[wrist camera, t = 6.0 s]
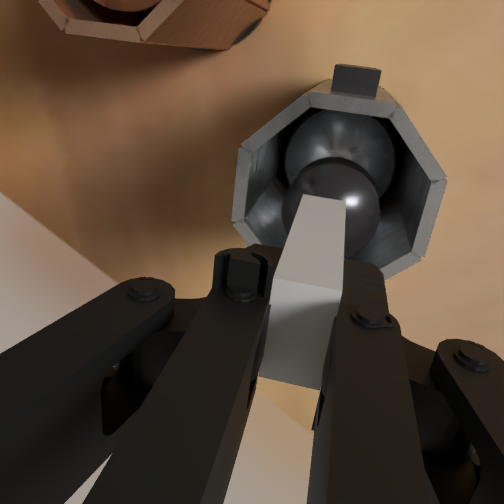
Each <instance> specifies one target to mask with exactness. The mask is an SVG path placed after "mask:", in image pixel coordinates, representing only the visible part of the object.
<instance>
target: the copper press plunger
mask: <svg viewBox="0 0 504 504" xmlns="http://www.w3.org/2000/svg"><path fill="white" fill-rule="evenodd" d="M94 1H95V2H97V3H99V4H101V5H102V6H105V7H107V8H110V9H114V10H119V11H124V12H143V11H147V10H151V9H153V8H155V7H156V6H157V5H158V4H159V3H160V2H161V1H162V0H94Z"/></svg>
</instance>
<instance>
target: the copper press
mask: <svg viewBox="0 0 504 504" xmlns="http://www.w3.org/2000/svg"><path fill="white" fill-rule="evenodd" d="M37 1H38V2H39V3H40V5H41V6H42V7H43V8H44V10H45V11H46V12H47V13H48V15H49V16H50V17H51V18H52V20H53V21H54V22H55V23H56V25H57V26H58V27H59V29H60V30H61V31H65V33H66V34H74V35H82V36H90V37H97V38H105V39H113V40H121V41H129V42H136V43H146V44H158V45H170V46H182V47H189V48H192V49H197V50H207V51H213V50H227V49H230V48H231V47H232V46H233V45H235V44H237V43H239V42H240V41H242V40H244V39H245V38H246V37H247V36H249V35H250V34H251V33H252V32H253V31H254V30H255V29H256V27H257V26H258V25H259V23H260V22H261V21H262V19H263V18H264V17H265V16H266V15H267V14H268V13H267V11H269V9H270V3H271V0H162V1H161V2H160V3H159V4H158V5H157V6H156V7H155V8H153V9H151V10H147V11H143V12H124V11H119V10H114V9H110V8H107V7H105V6H102V5H101V4H99V3H97V2H95V1H94V0H37Z"/></svg>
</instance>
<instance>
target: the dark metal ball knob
mask: <svg viewBox="0 0 504 504" xmlns="http://www.w3.org/2000/svg"><path fill="white" fill-rule="evenodd" d="M285 166H286V174H287V178H288V181H289V184H290V187H289V189H288V191H287V193H286V195H285V197H284V200H283V204H282V211H281V214H282V222H283V226H284V229H285V231H286V233H287V235H289V232H290V230H291V227H292V224H293V221H294V218H295V216H296V213H297V210H298V207H299V205H300V202H301V199H302V196H303V194H305V195H311V196H317V197H323V198H329V199H335V200H341V201H346V217H345V241H344V258H345V257H348V256H351V255H353V254H355V253H357V252H358V251H360V250H361V249H363V248H364V247H365V246H366V245H367V244H368V243H369V242H370V240H371V239H372V238H373V236H374V234H375V232H376V230H377V227H378V224H379V219H380V207H379V200H378V199H379V198H380V197H381V196H382V194H383V193H384V192H385V190H386V189H387V187H388V185H389V183H390V181H391V179H392V176H393V172H394V167H395V154H394V148H393V144H392V142H391V139H390V137H389V135H388V133H387V131H386V130H385V128H384V127H383V126H382V125H381V124H380V123H379V122H378V121H377V120H376V119H375V118H374V117H372V116H370V115H363V114H356V113H349V112H342V111H335V110H328V109H326V110H323V111H321V112H319V113H316V114H314V115H313V116H311V117H310V118H308V119H307V120H306V121H305V122H304V123H303V124H302V125H301V126H300V127H299V128H298V129H297V131H296V132H295V134H294V135H293V137H292V139H291V141H290V143H289V146H288V148H287V153H286V160H285Z"/></svg>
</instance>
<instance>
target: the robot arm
mask: <svg viewBox="0 0 504 504" xmlns="http://www.w3.org/2000/svg"><path fill="white" fill-rule="evenodd" d="M345 217H346V201H341V200H335V199H329V198H323V197H317V196H311V195H305V194H303V196H302V199H301V202H300V205H299V207H298V210H297V213H296V216H295V218H294V221H293V224H292V227H291V230H290V232H289V235H288V238H287V241H286V244H285V246H284V249H283V248H277V247H272V246H267V245H261V244H256V243H255V244H253V245H251V246H249V247H247V248H245V249H244V248H232V249H226V250H223V251H220V252H218V253H217V254H216V255H215V259H214V271H213V283H212V289H211V291H210V292H209V294H208V296H207V297H204V298H199V299H175V289H174V288H173V287H172V286H171V284H169V283H167V282H165V281H163V280H159V279H155V278H151V277H148V278H146V277H139V278H135V279H129V280H127V281H124V282H122V283H120V284H118V285H116V286H115V287H113V288H111V289H110V290H108V291H106V292H104V293H103V294H101V295H99V296H98V297H96V298H94V299H92V300H91V301H89V302H87V303H86V304H84V305H82V306H81V307H79V308H77V309H75V310H74V311H72V312H70V313H69V314H67V315H65V316H64V317H62V318H60V319H58V320H57V321H55V322H53V323H52V324H50V325H48V326H47V327H45V328H43V329H42V330H40V331H38V332H37V333H35V334H33V335H31V336H30V337H28V338H26V339H25V340H23V341H21V342H19V343H18V344H16V345H14V346H13V347H11V348H9V349H8V350H6V351H4V352H2V353H1V354H0V504H64V503H65V502H66V501H67V500H68V499H69V498H70V497H71V496H72V495H73V494H74V493H75V492H76V490H77V489H78V488H79V487H80V486H81V485H82V484H83V483H84V482H85V481H86V480H87V479H88V478H89V477H90V476H91V475H92V474H93V473H94V472H95V471H96V470H97V469H98V468H99V467H100V465H101V464H102V463H103V462H104V461H105V460H106V459H107V458H108V457H109V456H110V455H111V454H112V455H111V457H110V459H109V460H108V462H107V463H106V465H105V467H104V468H103V470H102V472H101V474H100V475H99V477H98V478H97V480H96V482H95V484H94V485H93V487H92V488H91V490H90V492H89V493H88V495H87V497H86V498H85V500H84V502H83V503H82V504H223V502H224V499H225V495H226V491H227V488H228V485H229V481H230V478H231V474H232V470H233V467H234V464H235V460H236V457H237V453H238V450H239V446H240V443H241V439H242V436H243V432H244V428H245V425H246V422H247V418H248V415H249V412H250V408H251V404H252V401H253V397H254V394H255V390H256V384H257V377H258V372H259V376H260V377H264V378H268V379H273V380H277V381H281V382H286V383H290V384H294V385H299V386H303V387H307V388H312V389H316V390H320V387H321V390H320V395H319V399H318V403H317V408H316V412H315V416H314V421H313V425H312V429H311V430H314V439H313V449H312V458H311V459H312V460H311V468H310V477H309V487H308V497H307V504H504V361H503V360H502V359H501V358H500V357H499V356H498V355H497V354H495V353H494V352H492V351H490V350H489V349H487V348H485V347H484V346H483V345H480V344H478V343H477V344H476V343H475V342H472V341H468V340H467V341H466V340H461V339H446V340H444V341H442V342H440V343H439V345H438V347H437V350H436V352H435V351H433V350H430V349H428V348H425V347H423V346H420V345H418V344H416V343H413V342H411V341H409V340H408V339H406V338H405V337H403V336H402V335H401V329H400V325H399V323H398V321H397V319H396V318H394V317H393V316H392V315H391V314H390V313H389V310H388V303H387V296H386V292H385V291H386V289H385V285H384V283H385V282H384V275H383V273H382V272H381V271H380V270H379V268H378V267H377V266H376V265H375V264H370V263H364V262H359V261H354V260H348V259H344V241H345ZM113 366H114V367H113ZM112 367H113V368H112ZM321 383H322V384H321ZM475 450H476V451H475Z"/></svg>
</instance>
